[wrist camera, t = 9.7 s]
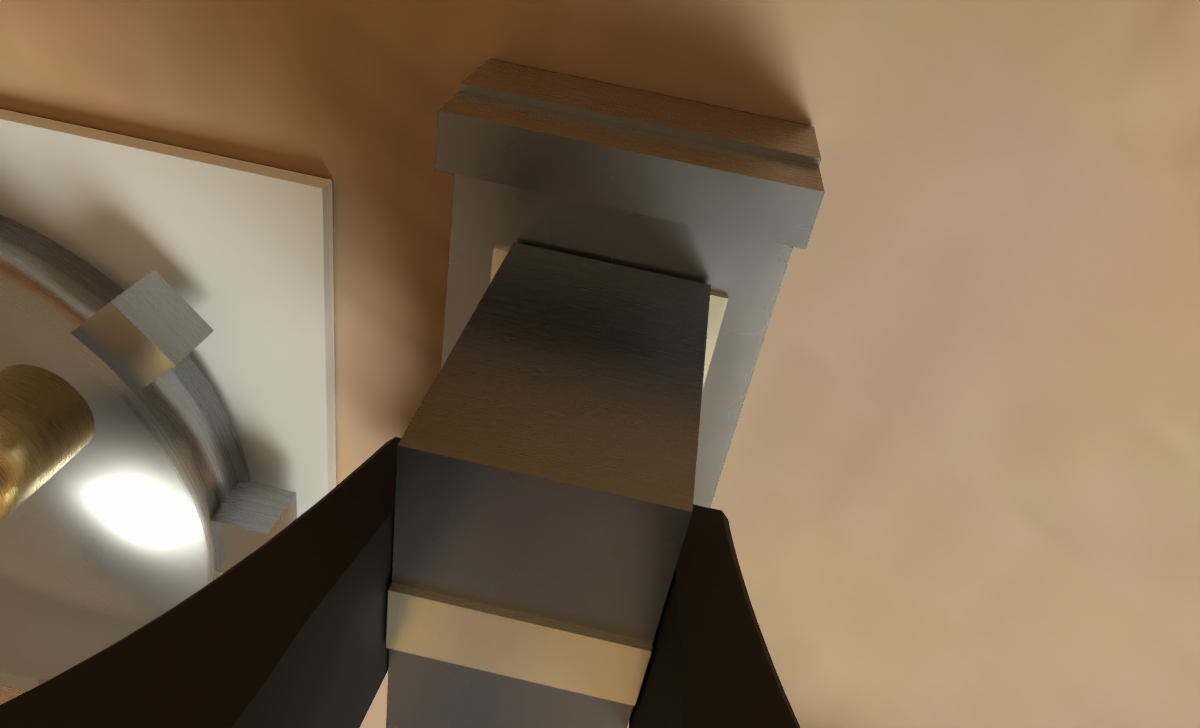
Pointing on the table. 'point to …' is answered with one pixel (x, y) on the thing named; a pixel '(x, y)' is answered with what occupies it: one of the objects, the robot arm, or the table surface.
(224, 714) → the robot arm
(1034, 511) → the table surface
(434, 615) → the banded grey block
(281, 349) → the board
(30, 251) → the sprocket
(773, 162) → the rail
